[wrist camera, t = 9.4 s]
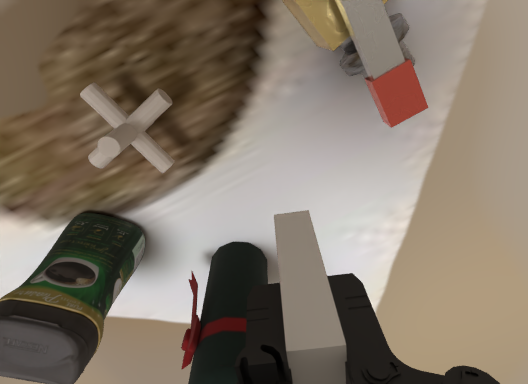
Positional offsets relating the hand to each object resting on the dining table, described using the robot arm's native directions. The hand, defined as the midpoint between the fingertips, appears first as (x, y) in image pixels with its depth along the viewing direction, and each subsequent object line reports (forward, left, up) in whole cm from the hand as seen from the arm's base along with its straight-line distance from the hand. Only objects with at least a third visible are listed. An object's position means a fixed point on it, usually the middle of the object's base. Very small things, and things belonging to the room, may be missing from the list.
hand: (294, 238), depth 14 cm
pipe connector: (-5, -13, -24) cm, 28 cm away
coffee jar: (+7, -26, -24) cm, 36 cm away
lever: (-5, +9, -15) cm, 18 cm away
